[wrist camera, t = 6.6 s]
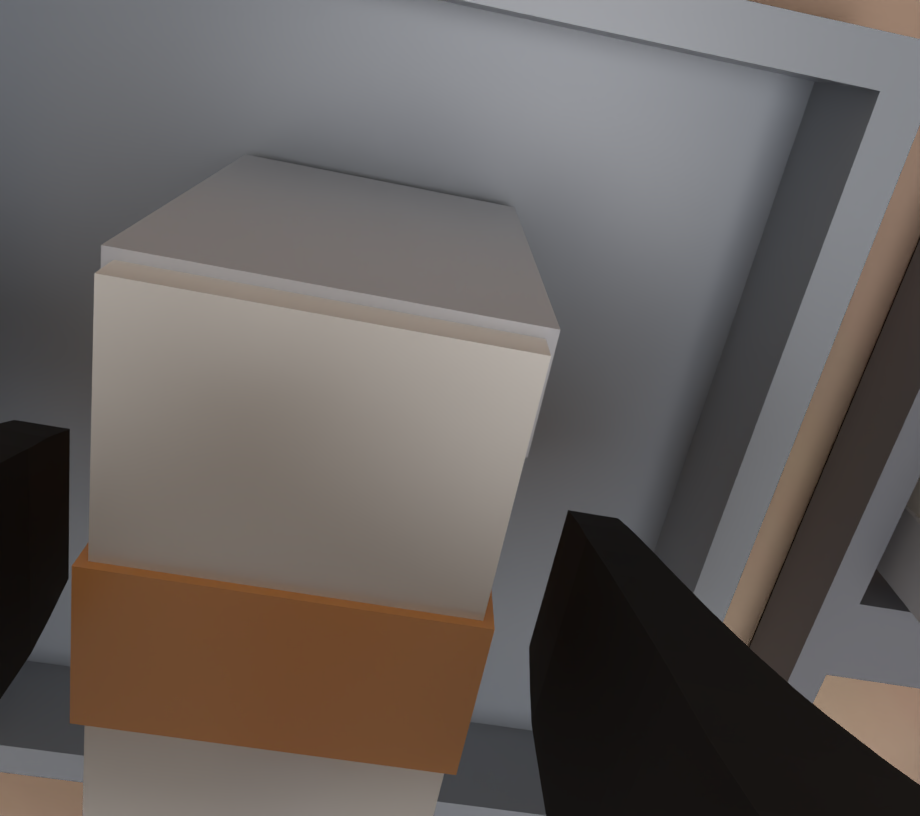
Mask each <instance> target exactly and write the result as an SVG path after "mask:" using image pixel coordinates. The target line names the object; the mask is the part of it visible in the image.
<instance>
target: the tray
mask: <svg viewBox="0 0 920 816" xmlns="http://www.w3.org/2000/svg"><path fill="white" fill-rule="evenodd" d="M919 125H920V39H917V38H912V37H908V36H903V35H899V34H895V33H890V32H886V31H881V30H877V29H872V28H868V27H863V26H859V25H854V24H850V23H845V22H841V21H836V20H832V19H827V18H823V17H818V16H814V15H810V14H805V13H801V12H796V11H792V10H787V9H783V8H778V7H774V6H769V5H765V4H760V3H756V2H751V1H747V0H0V423H3V422H7V421H11V420H19V421H25V422H31V423H37V424H43V425H49V426H55V427H61V428H68V429H70V472H69V579H68V581H67V583H66V585H65V587H64V589H63V591H62V593H61V596H60V598H59V600H58V602H57V604H56V606H55V608H54V610H53V612H52V614H51V616H50V618H49V620H48V622H47V624H46V626H45V628H44V630H43V632H42V634H41V635H40V637H39V639H38V641H37V643H36V645H35V647H34V649H33V651H32V653H31V654H30V656H29V657H28V659H27V660H26V662H25V663H24V665H23V666H22V668H21V669H20V671H19V672H18V674H17V675H16V677H15V678H14V680H13V681H12V683H11V684H10V686H9V687H8V689H7V690H6V692H5V693H4V694H3V696H2V697H1V699H0V772H4V773H12V774H20V775H28V776H36V777H44V778H52V779H60V780H68V781H76V782H83V772H84V727H85V725H78V724H70V658H71V578H72V565H73V563H74V562H75V560H76V559H77V558H78V556H79V555H80V553H81V552H82V550H83V549H84V548H85V546H86V545H87V543H88V542H89V498H90V452H91V407H92V361H93V315H94V273H95V272H97V271H98V270H100V269H101V245H102V244H103V243H105V242H107V241H108V240H110V239H111V238H113V237H115V236H116V235H118V234H119V233H121V232H123V231H124V230H126V229H127V228H129V227H131V226H132V225H134V224H135V223H137V222H138V221H140V220H142V219H143V218H145V217H146V216H148V215H150V214H151V213H153V212H154V211H156V210H158V209H159V208H161V207H162V206H164V205H166V204H167V203H169V202H170V201H172V200H174V199H175V198H177V197H178V196H180V195H182V194H183V193H185V192H186V191H188V190H190V189H191V188H193V187H194V186H196V185H198V184H199V183H201V182H202V181H204V180H205V179H207V178H209V177H210V176H212V175H213V174H215V173H217V172H218V171H220V170H221V169H223V168H225V167H226V166H228V165H229V164H231V163H233V162H234V161H236V160H237V159H239V158H241V157H242V156H244V155H245V154H247V155H252V156H257V157H262V158H267V159H272V160H277V161H282V162H287V163H292V164H297V165H302V166H307V167H312V168H318V169H323V170H328V171H333V172H338V173H343V174H348V175H353V176H358V177H363V178H368V179H373V180H378V181H383V182H388V183H393V184H399V185H404V186H409V187H414V188H419V189H424V190H429V191H434V192H439V193H444V194H449V195H454V196H459V197H464V198H469V199H475V200H480V201H485V202H490V203H495V204H500V205H505V206H510V207H515V210H516V212H517V215H518V218H519V220H520V223H521V226H522V228H523V231H524V234H525V236H526V239H527V242H528V244H529V247H530V250H531V252H532V255H533V258H534V260H535V263H536V266H537V268H538V271H539V274H540V276H541V279H542V282H543V284H544V287H545V290H546V292H547V295H548V298H549V300H550V303H551V306H552V308H553V311H554V314H555V316H556V319H557V322H558V324H559V327H560V334H559V338H558V342H557V345H556V349H555V353H554V357H553V361H552V365H551V369H550V373H549V376H548V380H547V384H546V388H545V392H544V396H543V400H542V404H541V407H540V411H539V415H538V419H537V423H536V427H535V431H534V435H533V439H532V442H531V446H530V450H529V454H528V457H525V460H524V464H523V468H522V472H521V476H520V480H519V484H518V488H517V492H516V496H515V499H514V503H513V507H512V511H511V515H510V519H509V523H508V527H507V531H506V534H505V538H504V542H503V546H502V550H501V554H500V558H499V562H498V566H497V570H496V573H495V577H494V581H493V585H492V601H493V614H494V627H495V630H494V634H493V638H492V642H491V646H490V649H489V653H488V657H487V661H486V664H485V668H484V672H483V676H482V680H481V683H480V687H479V691H478V695H477V698H476V702H475V706H474V710H473V714H472V717H471V721H470V725H469V729H468V732H467V736H466V740H465V744H464V748H463V751H462V755H461V759H460V763H459V766H458V770H457V774H456V775H451V774H444V776H443V780H442V784H441V788H440V792H439V796H438V800H437V803H436V807H435V811H434V815H433V816H546V812H545V806H544V800H543V794H542V788H541V782H540V776H539V769H538V763H537V757H536V750H535V744H534V737H533V731H532V724H531V702H530V669H529V645H530V642H531V638H532V635H533V631H534V628H535V624H536V621H537V617H538V614H539V610H540V607H541V603H542V599H543V596H544V592H545V589H546V585H547V582H548V578H549V575H550V571H551V568H552V564H553V561H554V557H555V554H556V550H557V547H558V543H559V540H560V536H561V533H562V529H563V526H564V522H565V519H566V515H567V512H568V510H570V511H577V512H583V513H589V514H595V515H601V516H607V517H613V518H618V519H620V520H621V521H622V522H623V523H624V524H625V525H626V526H628V527H629V528H630V529H631V530H632V531H633V532H634V533H635V534H636V535H637V536H638V537H639V538H640V539H641V540H642V541H643V542H644V543H645V544H646V545H647V546H648V547H649V548H650V549H651V550H652V551H653V552H654V553H655V554H656V555H657V556H658V557H659V558H660V559H661V561H662V562H663V563H664V564H665V565H666V566H667V567H668V568H669V569H670V570H671V571H672V572H673V573H674V574H675V575H676V576H677V577H678V578H679V579H680V580H681V581H682V582H683V583H684V584H685V585H686V586H687V587H688V588H689V589H690V590H691V591H692V592H693V593H694V594H695V595H696V596H697V598H698V599H699V600H700V601H701V602H702V603H703V604H704V605H705V606H706V607H707V608H708V609H709V610H710V611H711V612H712V613H713V614H714V615H716V616H717V617H718V618H719V619H720V620H721V621H722V622H723V620H724V618H725V615H726V613H727V610H728V608H729V605H730V603H731V600H732V598H733V595H734V593H735V590H736V588H737V585H738V583H739V580H740V577H741V575H742V572H743V570H744V567H745V565H746V562H747V560H748V557H749V555H750V552H751V550H752V547H753V545H754V542H755V540H756V537H757V535H758V532H759V529H760V527H761V524H762V522H763V519H764V517H765V514H766V512H767V509H768V507H769V504H770V502H771V499H772V497H773V494H774V492H775V489H776V487H777V484H778V482H779V479H780V476H781V474H782V471H783V469H784V466H785V464H786V461H787V459H788V456H789V454H790V451H791V449H792V446H793V444H794V441H795V439H796V436H797V434H798V431H799V428H800V426H801V423H802V421H803V418H804V416H805V413H806V411H807V408H808V406H809V403H810V401H811V398H812V396H813V393H814V391H815V388H816V386H817V383H818V381H819V378H820V375H821V373H822V370H823V368H824V365H825V363H826V360H827V358H828V355H829V353H830V350H831V348H832V345H833V343H834V340H835V338H836V335H837V333H838V330H839V327H840V325H841V322H842V320H843V317H844V315H845V312H846V310H847V307H848V305H849V302H850V300H851V297H852V295H853V292H854V290H855V287H856V285H857V282H858V280H859V277H860V274H861V272H862V269H863V267H864V264H865V262H866V259H867V257H868V254H869V252H870V249H871V247H872V244H873V242H874V239H875V237H876V234H877V232H878V229H879V226H880V224H881V221H882V219H883V216H884V214H885V211H886V209H887V206H888V204H889V201H890V199H891V196H892V194H893V191H894V189H895V186H896V184H897V181H898V178H899V176H900V173H901V171H902V168H903V166H904V163H905V161H906V158H907V156H908V153H909V151H910V148H911V146H912V143H913V141H914V138H915V136H916V133H917V131H918V128H919Z"/></svg>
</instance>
